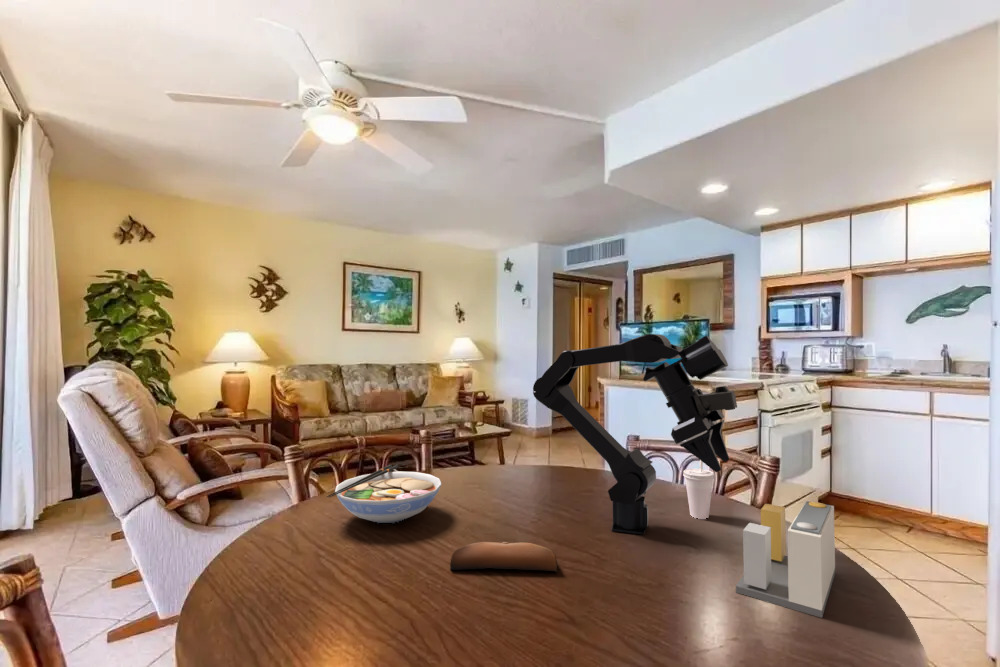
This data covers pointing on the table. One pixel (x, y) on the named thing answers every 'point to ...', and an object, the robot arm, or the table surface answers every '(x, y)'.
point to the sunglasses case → (503, 556)
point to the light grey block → (757, 555)
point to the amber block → (775, 529)
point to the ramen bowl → (387, 494)
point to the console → (802, 564)
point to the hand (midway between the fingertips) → (723, 465)
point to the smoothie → (699, 491)
